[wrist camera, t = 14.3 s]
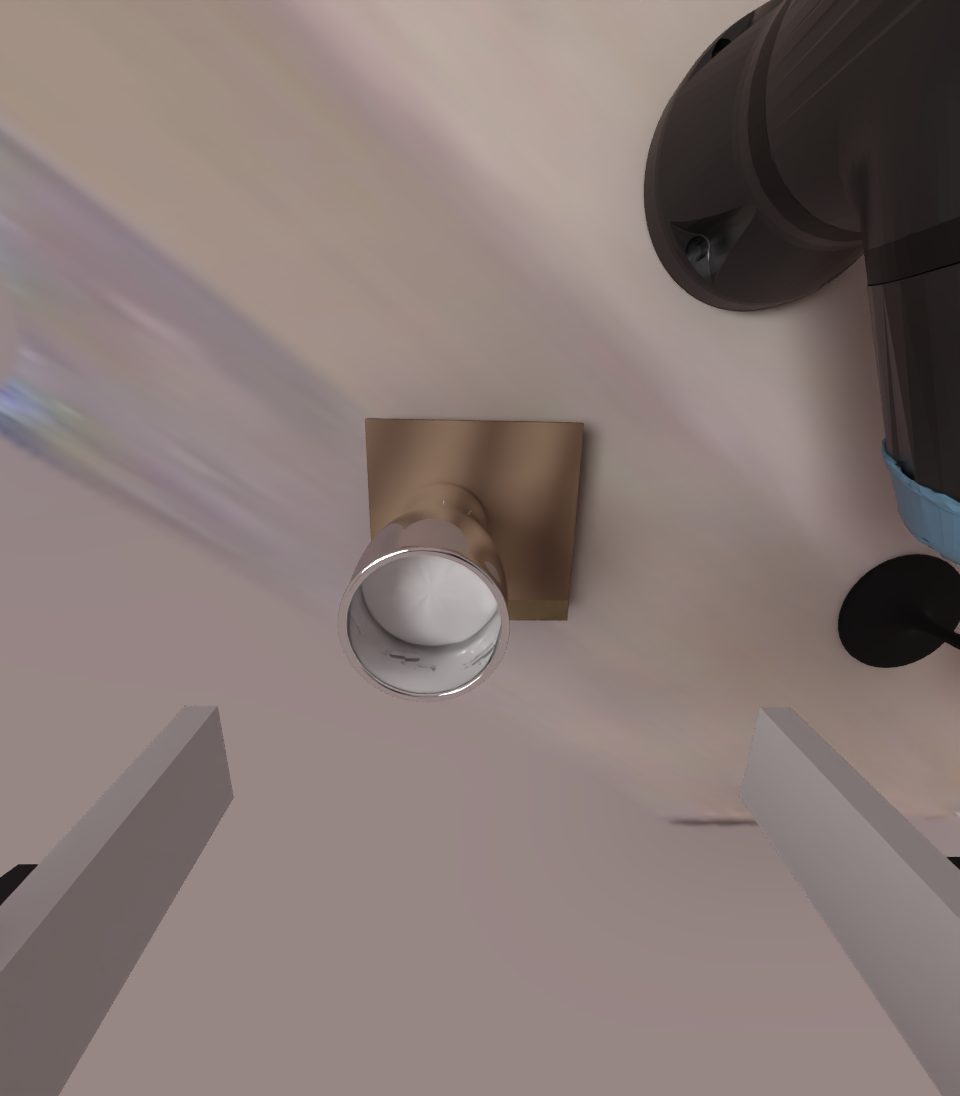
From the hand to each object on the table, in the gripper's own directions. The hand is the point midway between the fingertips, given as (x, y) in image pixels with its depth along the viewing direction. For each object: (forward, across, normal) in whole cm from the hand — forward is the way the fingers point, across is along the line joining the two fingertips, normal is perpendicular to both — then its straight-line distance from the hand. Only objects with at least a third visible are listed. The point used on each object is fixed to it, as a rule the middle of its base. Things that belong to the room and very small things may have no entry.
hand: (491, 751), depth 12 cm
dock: (+26, 0, 0) cm, 26 cm away
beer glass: (+22, +2, 0) cm, 22 cm away
